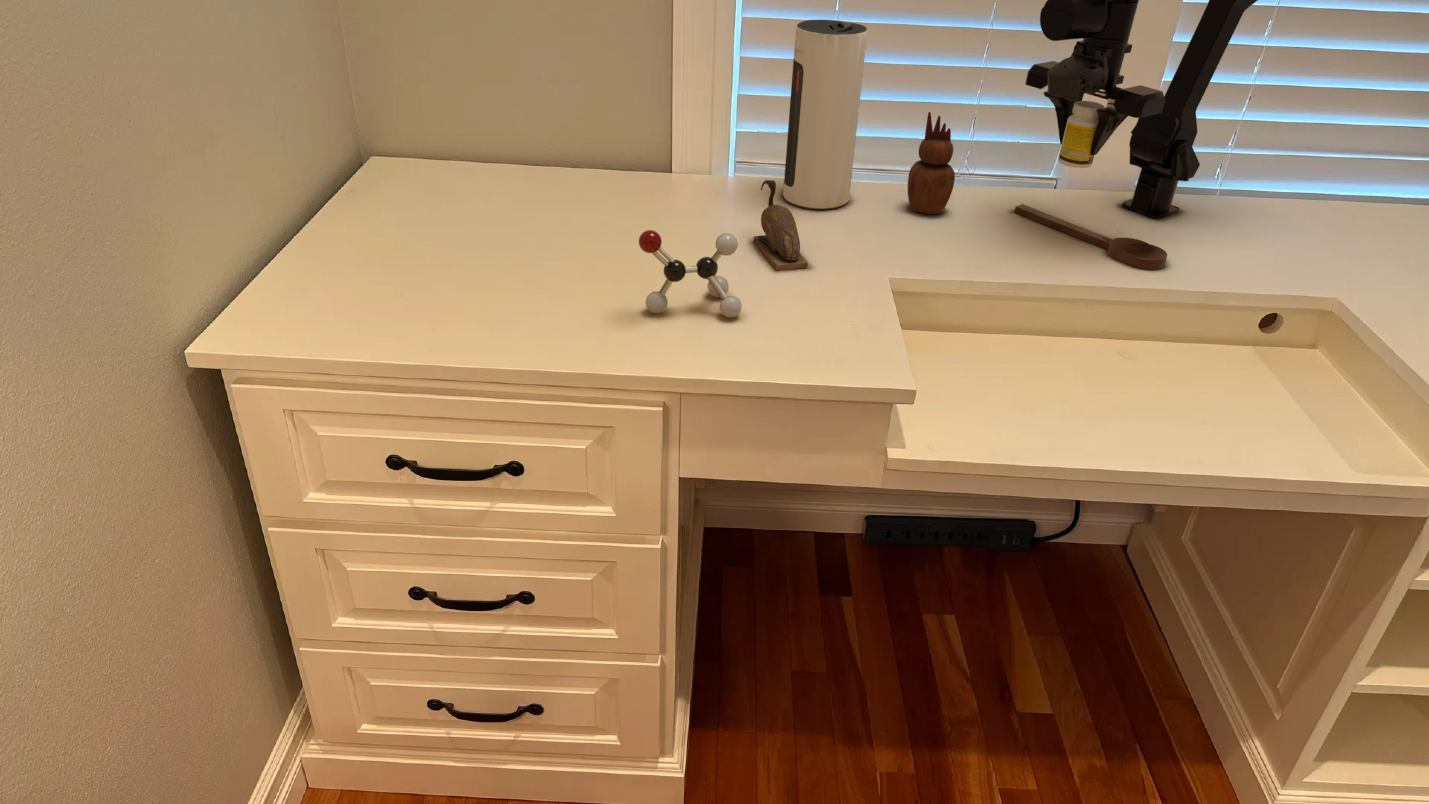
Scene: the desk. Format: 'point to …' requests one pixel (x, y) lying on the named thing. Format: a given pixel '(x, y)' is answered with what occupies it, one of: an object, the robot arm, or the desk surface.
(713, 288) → the molecular model
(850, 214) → the desk surface
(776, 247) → the figurine
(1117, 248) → the wooden spoon
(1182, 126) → the robot arm
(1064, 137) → the supplement bottle
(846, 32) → the speaker
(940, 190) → the wooden figurine
